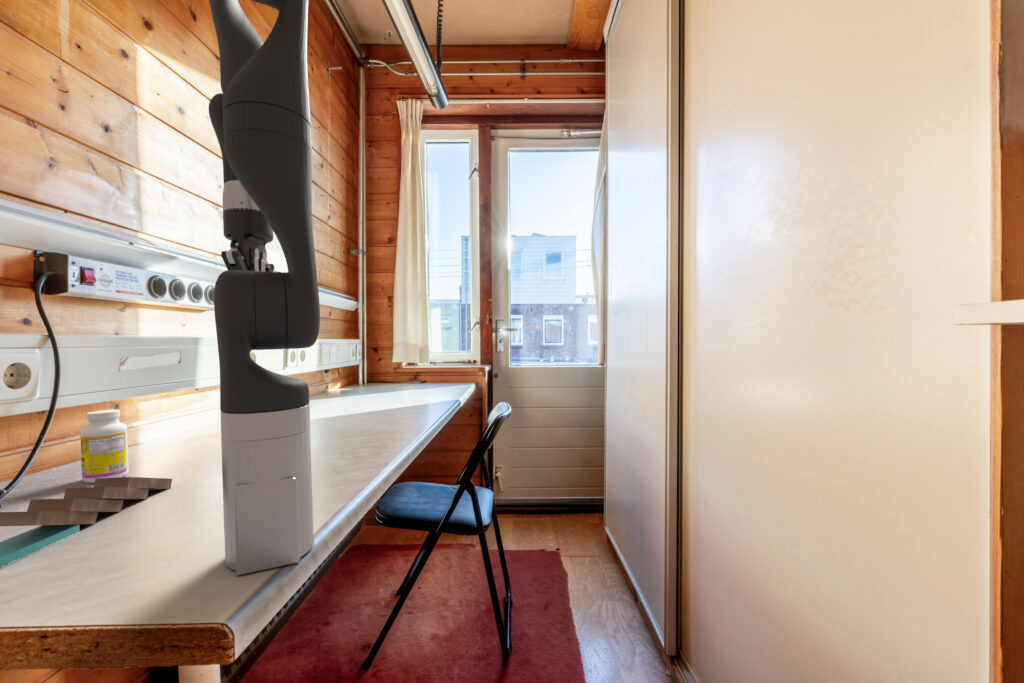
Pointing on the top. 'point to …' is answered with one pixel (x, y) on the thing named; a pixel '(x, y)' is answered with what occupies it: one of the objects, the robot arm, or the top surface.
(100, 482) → the domino
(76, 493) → the domino
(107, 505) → the domino
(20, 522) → the domino
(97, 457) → the supplement bottle
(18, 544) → the domino
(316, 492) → the top surface
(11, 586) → the top surface
